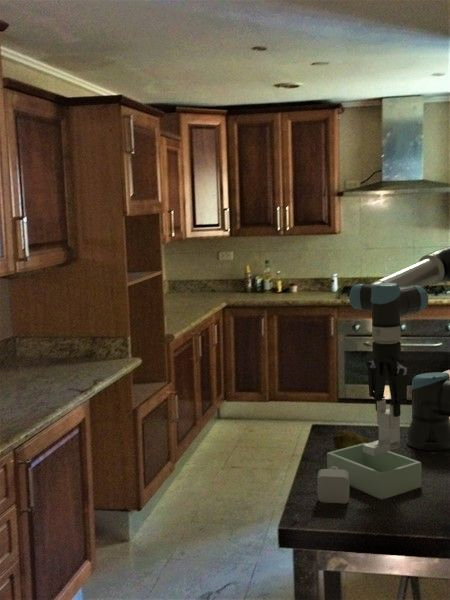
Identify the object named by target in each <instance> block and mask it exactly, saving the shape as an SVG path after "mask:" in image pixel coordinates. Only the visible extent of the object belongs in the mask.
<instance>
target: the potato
mask: <svg viewBox="0 0 450 600" xmlns="http://www.w3.org/2000/svg"><path fill="white" fill-rule="evenodd" d="M332 441H333V445H334V448H335V449H336V450H339V449H343V448H347V447H351V446H355V445H358V444H362V443H371V442H374V441H373V440H372V439H370V438H368V437H365V436H363V435H360V434H357V433H355V432H353V431H351V430H347V429H346V430H345V429H343V430H339V431H336V432H334V435H333V437H332Z"/></svg>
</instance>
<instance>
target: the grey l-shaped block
mask: <svg viewBox="0 0 450 600" xmlns="http://www.w3.org/2000/svg"><path fill="white" fill-rule="evenodd" d="M400 417H401V415H400V416H399V427H397V428H393V429H391V428H390V408H386V410H383V411H379V412H378V424H377V426H378V440H374V441H373V442H371V443H368V444H364V445H363V452H364V453H367V454H370V455H373V456H375V455H378V454H381V453H384V452H387V451H390V452H392V451H393V450H396V449H400V448H401V429H400V428H401V426H400V425H401V420H400V419H401V418H400Z"/></svg>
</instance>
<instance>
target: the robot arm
mask: <svg viewBox="0 0 450 600" xmlns="http://www.w3.org/2000/svg"><path fill="white" fill-rule="evenodd" d="M442 282H450V246H449V245H448V246H446V247H443V248H440V249H437V250H434V251H433V252H430V253H428V254H426V255H423V256H421V258H419V260H418V261H417V262H415V263H413V264H411V265H408V266H407V267H405V268H402V269H399V270H397V271H395V272H393V273H391V274H389V275H386V276H383V278H380V279H377V280H375V281H373V282H370V283H367V284H366V283H357V284H355V285H353V286H352V287H351V289H350V291H349V295H348V298H349V303H350V306H351V307H352V308H354V309H356V310H361V311H363V312H365V311H367V312H368V311H369V312H371V334H372V335H371V339H372V340H373V342H372V343H371V346H372V347H371V348H372V349H371V351H372V355H373V359H372V360H369V361H366V362H365V365H366V368H367V375H368V376H367V378H368V381H367V382H368V395H369V397H370V398H373V400H374V403H375V405H374V406H375V412H376V424H377V425H378V412H379V411H383V410H386V409H387V400H386V399H385V398H386V396H385V391H386V390H385V389H386V383H387V382H386V381H388V388H389V393H390V400H391V402H390V403H389V409H390V428H391V429H393V428H397V427H399V416H400V417H401V405H403V404H405V403H407V402H408V401H407V400H408V395H407V394H408V388H407V387H408V374H409V372H410V368H409V367H408V366H403V365H402V364H401V363H402V362H401V360H400V357H401V355H402V343H401V342H400V340H402V333H401V332H402V331H401V317H403V316H406V315H413V314H417V313H419V312H422V311H424V310H425V309H426V308H427V307H428V304H429V294H428V292H427V291H426V289H425V288H424V287H425V286H428V285H429V284H430V285H436V284H439V283H442ZM411 380H412V381H411V387H410V388H411V389H410V390H411V423H409V428H408V432H407V434H406V444H407V446H410V447H412V448H414V449H418V450H422V451H430V452H431V451H432V452H433V451H434V452H435V451H438V452H439V451H446V450H450V374H449V373H447V372H440V371H439V372H438V371H437V372H436V371H435V372H426V373H425V372H424V373H420V374H417V375H414V376H413V377H412V379H411Z"/></svg>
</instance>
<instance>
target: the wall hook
mask: <svg viewBox="0 0 450 600" xmlns="http://www.w3.org/2000/svg"><path fill="white" fill-rule="evenodd" d="M316 481H317V482H316V483H317V499H318V501H319V502H321V503H326V504H330V503H332V504H348V503H349V501H350V486H349V473H348V472H347V471H346V470H339V469H338V468H337V467H335V466H333V467H331V468H330V469H327V468H321V469H319V470H318V471H317V480H316Z"/></svg>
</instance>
